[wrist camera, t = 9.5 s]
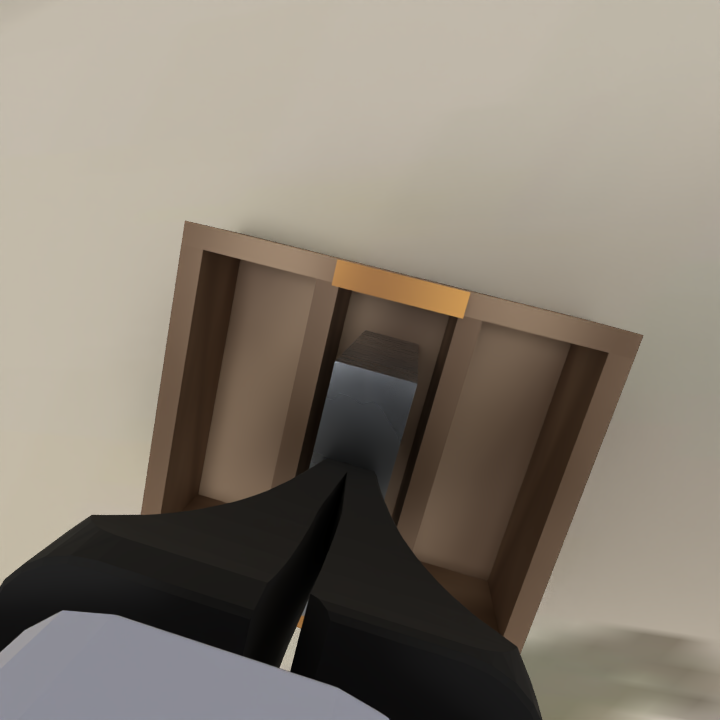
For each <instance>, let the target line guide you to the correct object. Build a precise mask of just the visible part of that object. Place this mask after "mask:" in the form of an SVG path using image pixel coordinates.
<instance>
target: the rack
mask: <svg viewBox="0 0 720 720" xmlns="http://www.w3.org/2000/svg"><path fill="white" fill-rule="evenodd" d="M365 330H367V331H371V332H374V333H378V334H382V335H386V336H389V337H393V338H397V339H401V340H404V341H408V342H412V343H416V344H419V345H418V384H417V387H416V391H415V394H414V398H413V401H412V405H411V408H410V412H409V415H408V419H407V422H406V426H405V429H404V433H403V436H402V440H401V443H400V447H399V450H398V454H397V457H396V461H395V464H394V467H393V471H392V474H391V478H390V481H389V485H388V488H387V492H386V495H385V499H384V501H385V503H386V505H387V508H388V510H389V512H390V515H391V517H392V519H393V521H394V523H395V525H396V527H397V528H398V530H399V532H400V534H401V536H402V537H403V539H404V540H405V542H406V543H407V545H408V546H409V547H410V549H411V550H412V552H413V553H414V554H415V556H416V557H417V558H418V560H419V561H420V562H421V563H422V565H423V566H424V567H425V568H426V569H427V570H428V571H429V572H430V574H431V575H432V576H433V577H434V578H435V579H436V580H437V581H438V582H439V583H440V584H441V585H442V586H443V587H444V588H445V589H446V590H447V591H448V592H449V593H450V594H451V595H452V596H453V597H454V598H455V599H456V600H458V601H459V602H460V603H461V604H462V605H463V606H464V607H466V608H467V609H468V610H469V611H470V612H471V613H472V614H474V615H475V616H476V617H477V618H479V619H480V620H481V621H483V622H484V623H486V624H487V625H488V626H490V627H491V628H492V629H494V630H495V631H497V632H498V633H499V634H501V635H502V636H503V637H505V638H506V639H508V640H509V641H510V642H512V643H513V644H514V645H516V646H517V647H518V649H519V652H520V654H521V651H522V648H523V646H524V643H525V641H526V638H527V635H528V633H529V630H530V628H531V625H532V622H533V620H534V617H535V615H536V612H537V610H538V607H539V604H540V602H541V599H542V597H543V594H544V591H545V589H546V586H547V584H548V581H549V579H550V576H551V573H552V571H553V568H554V566H555V563H556V560H557V558H558V555H559V553H560V550H561V547H562V545H563V542H564V540H565V537H566V535H567V532H568V529H569V527H570V524H571V522H572V519H573V516H574V514H575V511H576V509H577V506H578V503H579V501H580V498H581V496H582V493H583V491H584V488H585V485H586V483H587V480H588V478H589V475H590V472H591V470H592V467H593V465H594V462H595V460H596V457H597V454H598V452H599V449H600V447H601V444H602V441H603V439H604V436H605V434H606V431H607V428H608V426H609V423H610V421H611V418H612V416H613V413H614V410H615V408H616V405H617V403H618V400H619V397H620V395H621V392H622V390H623V387H624V385H625V382H626V379H627V377H628V374H629V372H630V369H631V366H632V364H633V361H634V359H635V356H636V353H637V351H638V348H639V346H640V343H641V341H642V338H643V335H641V334H637V333H633V332H630V331H626V330H622V329H619V328H615V327H611V326H608V325H604V324H600V323H597V322H593V321H589V320H585V319H581V318H577V317H573V316H569V315H565V314H561V313H557V312H553V311H549V310H545V309H541V308H537V307H533V306H529V305H525V304H521V303H517V302H513V301H509V300H505V299H501V298H497V297H493V296H489V295H485V294H481V293H477V292H473V291H469V290H465V289H461V288H457V287H453V286H449V285H445V284H441V283H437V282H433V281H429V280H425V279H421V278H417V277H413V276H409V275H405V274H401V273H397V272H393V271H389V270H385V269H381V268H377V267H373V266H369V265H365V264H361V263H357V262H353V261H349V260H345V259H341V258H337V257H333V256H329V255H325V254H321V253H317V252H313V251H309V250H305V249H301V248H297V247H293V246H289V245H285V244H281V243H277V242H273V241H269V240H265V239H261V238H257V237H253V236H249V235H245V234H241V233H237V232H232V231H228V230H223V229H219V228H215V227H210V226H206V225H201V224H197V223H193V222H188V221H185V224H184V231H183V238H182V244H181V251H180V258H179V264H178V271H177V278H176V284H175V291H174V298H173V304H172V311H171V317H170V324H169V331H168V337H167V344H166V351H165V357H164V364H163V371H162V377H161V384H160V391H159V397H158V404H157V411H156V417H155V424H154V431H153V437H152V444H151V450H150V457H149V464H148V470H147V477H146V484H145V490H144V497H143V504H142V510H141V515H150V514H164V513H175V512H183V511H191V510H198V509H203V508H207V507H212V506H217V505H222V504H226V503H231V502H235V501H238V500H241V499H245V498H248V497H251V496H254V495H257V494H260V493H262V492H265V491H267V490H270V489H272V488H274V487H276V486H278V485H280V484H283V483H285V482H287V481H289V480H291V479H292V478H294V477H296V476H298V475H300V474H301V473H303V472H305V471H307V470H308V469H309V467H310V463H311V459H312V455H313V450H314V446H315V442H316V438H317V434H318V430H319V426H320V421H321V417H322V413H323V409H324V405H325V401H326V397H327V393H328V388H329V384H330V380H331V376H332V372H333V368H334V364H335V361H336V360H337V359H338V358H339V357H340V356H341V355H342V353H343V352H344V351H345V350H346V349H347V348H348V347H349V346H350V345H351V344H352V343H353V342H354V341H355V340H356V339H357V338H358V337H359V336H360V335H361V334H362V333H363V332H364V331H365ZM303 619H304V616H301V618H300V620H299V622H298V625H297V627H298V628H301V627H302V623H303Z"/></svg>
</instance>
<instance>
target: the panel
mask: <svg viewBox="0 0 720 720" xmlns="http://www.w3.org/2000/svg"><path fill="white" fill-rule="evenodd" d="M418 345H419V344H416V343H412V342H408V341H404V340H401V339H397V338H393V337H389V336H386V335H382V334H378V333H374V332H371V331H367V330H365V331H364V332H363V333H362V334H361V335H360V336H359V337H358V338H357V339H356V340H355V341H354V342H353V343H352V344H351V345H350V346H349V347H348V348H347V349H346V350H345V351H344V352H343V353H342V355H341V356H340V357H339V358H338V359H337V360H336V361H335V364H334V368H333V372H332V376H331V380H330V384H329V388H328V393H327V397H326V401H325V405H324V409H323V413H322V417H321V421H320V426H319V430H318V434H317V438H316V442H315V446H314V450H313V455H312V459H311V463H310V467H309V469H310V468H312V467H313V466H315V465H316V464H318V463H320V462H321V461H323V460H325V459H327V458H330V459H333V460H337V461H340V462H344V463H347V464H351V465H354V466H358V467H361V468H365V469H368V470H372V471H374V472H375V474H376V475H377V479H378V483H379V486H380V490H381V493H382V495H383V498H384V499H385V495H386V492H387V488H388V485H389V481H390V478H391V474H392V471H393V467H394V464H395V461H396V457H397V454H398V450H399V447H400V443H401V440H402V436H403V433H404V429H405V426H406V422H407V419H408V415H409V412H410V408H411V405H412V401H413V398H414V394H415V391H416V387H417V384H418ZM307 604H308V602H307ZM307 604H306V607H305V609H304V611H303V613H302V616H304V615H305V612H306V608H307Z"/></svg>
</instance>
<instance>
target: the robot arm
mask: <svg viewBox="0 0 720 720" xmlns="http://www.w3.org/2000/svg"><path fill="white" fill-rule="evenodd" d="M307 602H308V604H307ZM306 604H307V608H306V612H305V615H304V619H303V623H302V627H301V631H300V635H299V639H298V643H297V647H296V651H295V655H294V659H293V663H292V667H291V671H290V672H289V671H286V670H283V669H280V668H279V667H280V665H281V662H282V660H283V657H284V655H285V652H286V650H287V647H288V645H289V642H290V640H291V638H292V636H293V633H294V631H295V629H296V627H297V625H298V622H299V620H300V618H301V616H302V613H303V611H304V609H305V607H306ZM0 720H542V717H541V713H540V710H539V706H538V702H537V699H536V696H535V693H534V690H533V687H532V684H531V681H530V678H529V675H528V673H527V670H526V668H525V665H524V663H523V660H522V658H521V655H520V652H519V649H518V647H517V646H516V645H514V644H513V643H512V642H510V641H509V640H508V639H506V638H505V637H503V636H502V635H501V634H499V633H498V632H497V631H495V630H494V629H492V628H491V627H490V626H488V625H487V624H486V623H484V622H483V621H481V620H480V619H479V618H477V617H476V616H475V615H474V614H472V613H471V612H470V611H469V610H468V609H467V608H466V607H464V606H463V605H462V604H461V603H460V602H459V601H458V600H456V599H455V598H454V597H453V596H452V595H451V594H450V593H449V592H448V591H447V590H446V589H445V588H444V587H443V586H442V585H441V584H440V583H439V582H438V581H437V580H436V579H435V578H434V577H433V576H432V575H431V574H430V572H429V571H428V570H427V569H426V568H425V567H424V566H423V565H422V563H421V562H420V561H419V560H418V558H417V557H416V556H415V554H414V553H413V552H412V550H411V549H410V547H409V546H408V545H407V543H406V542H405V540H404V539H403V537H402V536H401V534H400V532H399V530H398V528H397V527H396V525H395V523H394V521H393V519H392V517H391V515H390V512H389V510H388V508H387V505H386V503H385V501H384V498H383V495H382V493H381V490H380V486H379V483H378V479H377V475H376V474H375V472H374V471H372V470H368V469H365V468H361V467H358V466H354V465H351V464H347V463H344V462H340V461H337V460H333V459H330V458H327V459H325V460H323V461H321V462H320V463H318V464H316V465H315V466H313V467H312V468H310V469H308V470H307V471H305V472H303V473H301V474H300V475H298V476H296V477H294V478H292V479H291V480H289V481H287V482H285V483H283V484H280V485H278V486H276V487H274V488H272V489H270V490H267V491H265V492H262V493H260V494H257V495H254V496H251V497H248V498H245V499H241V500H238V501H235V502H231V503H226V504H222V505H217V506H212V507H207V508H203V509H198V510H191V511H183V512H175V513H164V514H150V515H91V516H90V517H88V518H87V519H85V520H84V521H82V522H81V523H79V524H78V525H76V526H75V527H73V528H72V529H70V530H69V531H68V532H66V533H65V534H63V535H62V536H61V537H59V538H58V539H57V540H55V541H54V542H53V543H51V544H50V545H49V546H47V547H46V548H45V549H43V550H42V551H41V552H39V553H38V554H37V555H35V556H34V557H33V558H31V559H30V560H28V561H27V562H26V563H24V564H23V565H22V566H21V567H19V568H18V569H17V570H16V571H14V572H13V573H12V574H11V575H10V576H8V577H7V578H6V579H5V580H4V581H3V583H2V585H1V586H0Z"/></svg>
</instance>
